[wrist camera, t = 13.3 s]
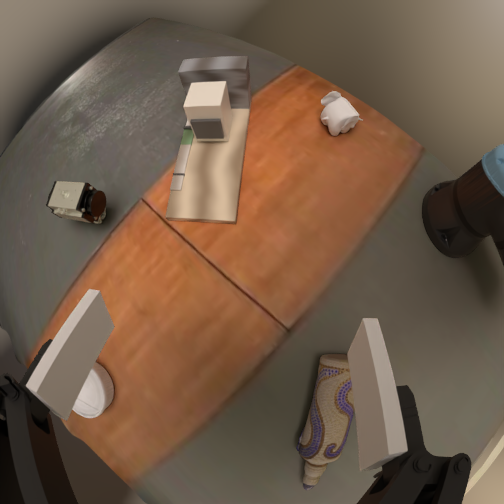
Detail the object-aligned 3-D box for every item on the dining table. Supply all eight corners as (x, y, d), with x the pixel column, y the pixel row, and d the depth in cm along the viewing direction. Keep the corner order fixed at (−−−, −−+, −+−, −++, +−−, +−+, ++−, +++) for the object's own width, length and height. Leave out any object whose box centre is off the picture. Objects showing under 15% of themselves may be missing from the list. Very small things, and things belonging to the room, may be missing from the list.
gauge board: (251, 100, 51) (248, 56, 39) (236, 224, 45) (225, 192, 33) (196, 101, 52) (183, 59, 39) (168, 220, 46) (138, 190, 33)
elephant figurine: (366, 133, 48) (377, 112, 41) (328, 145, 47) (336, 123, 41) (346, 107, 50) (353, 85, 43) (308, 117, 49) (313, 94, 42)
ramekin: (86, 412, 38) (71, 419, 33) (67, 360, 41) (50, 363, 36) (128, 407, 39) (114, 416, 34) (107, 350, 41) (91, 353, 36)
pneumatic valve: (81, 202, 48) (46, 178, 36) (123, 207, 47) (90, 180, 35) (73, 227, 47) (36, 207, 35) (115, 235, 46) (78, 213, 34)
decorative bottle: (315, 350, 40) (324, 356, 33) (359, 354, 39) (374, 360, 33) (282, 479, 35) (284, 499, 28) (322, 480, 34) (329, 500, 28)
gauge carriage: (233, 112, 48) (227, 75, 38) (227, 144, 46) (219, 108, 37) (189, 112, 49) (177, 79, 39) (181, 144, 47) (164, 111, 37)
